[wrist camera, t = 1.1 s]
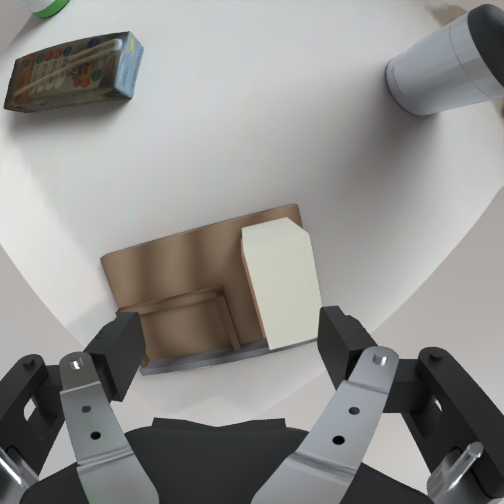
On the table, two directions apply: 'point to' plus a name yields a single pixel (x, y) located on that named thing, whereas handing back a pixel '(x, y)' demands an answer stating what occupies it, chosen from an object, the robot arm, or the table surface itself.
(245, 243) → the tea box
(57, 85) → the beverage carton
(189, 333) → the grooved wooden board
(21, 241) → the table surface
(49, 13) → the wine bottle
